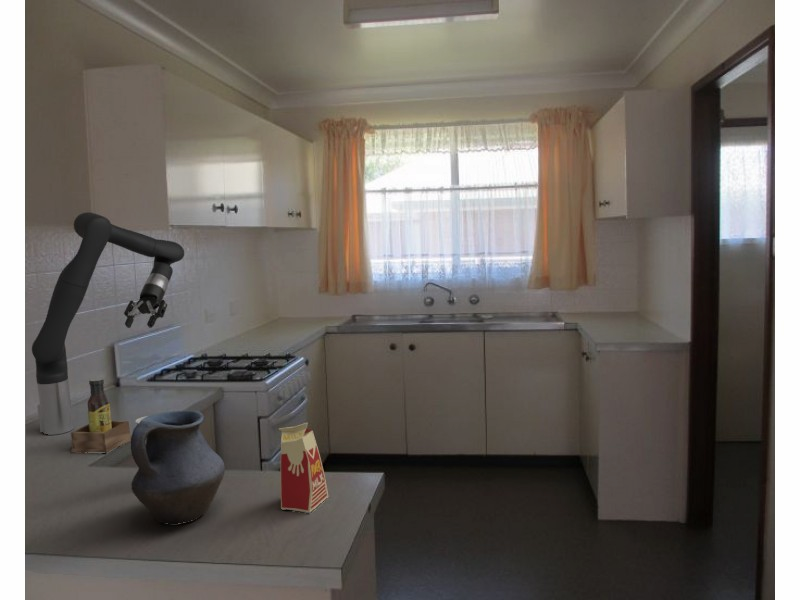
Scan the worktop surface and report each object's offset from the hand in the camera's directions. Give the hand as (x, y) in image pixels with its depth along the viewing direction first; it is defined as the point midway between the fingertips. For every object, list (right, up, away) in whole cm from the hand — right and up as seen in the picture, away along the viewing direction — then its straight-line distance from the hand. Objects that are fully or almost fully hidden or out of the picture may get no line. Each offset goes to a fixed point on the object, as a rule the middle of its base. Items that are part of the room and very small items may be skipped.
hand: (138, 326), depth 224 cm
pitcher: (+39, -41, -73) cm, 92 cm away
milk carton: (+67, -39, -69) cm, 104 cm away
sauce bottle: (-2, -35, -21) cm, 41 cm away
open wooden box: (-2, -36, -22) cm, 42 cm away
